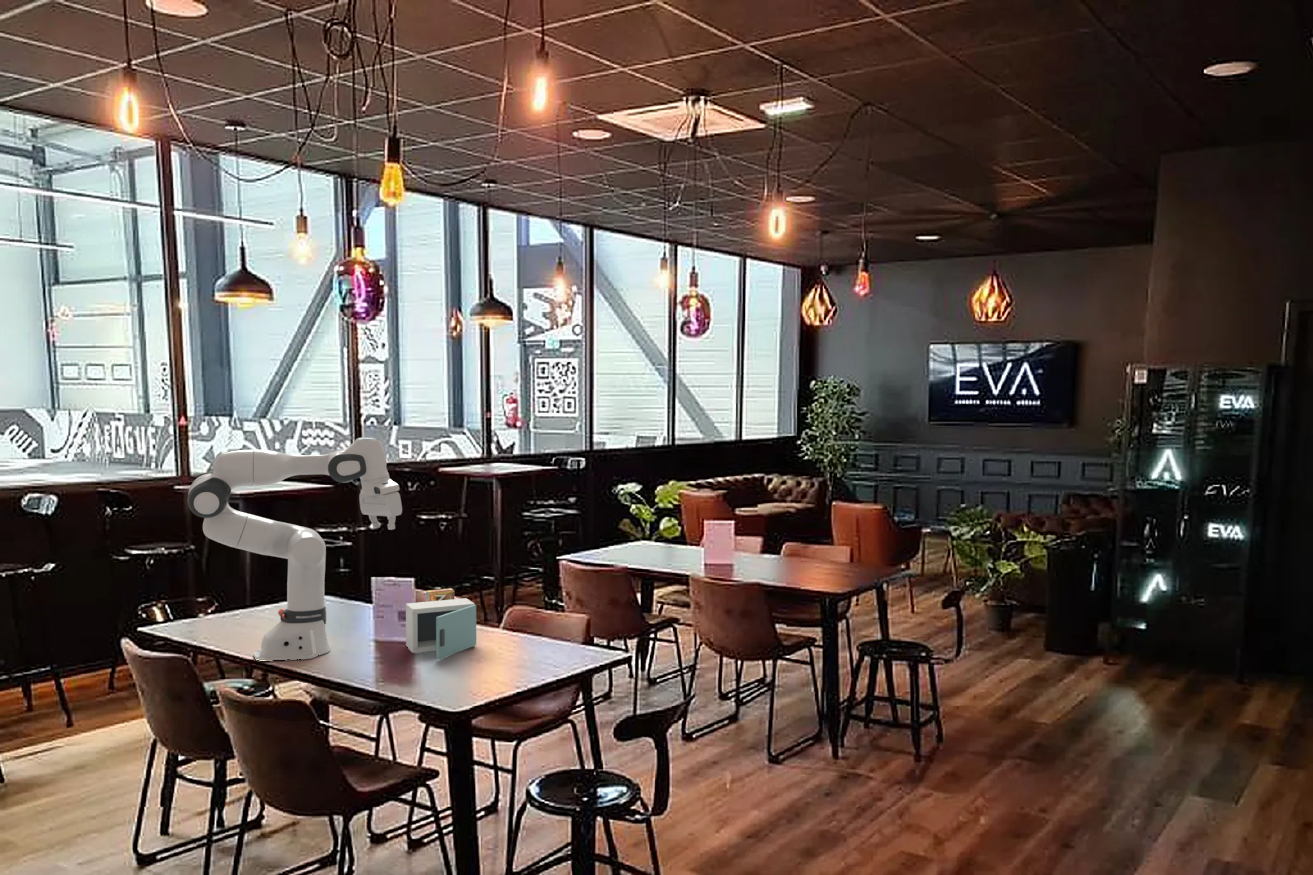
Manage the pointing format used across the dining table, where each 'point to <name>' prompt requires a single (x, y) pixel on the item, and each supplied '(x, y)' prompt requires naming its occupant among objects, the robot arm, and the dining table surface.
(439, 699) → the dining table surface
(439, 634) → the door
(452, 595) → the candy box
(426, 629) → the case
